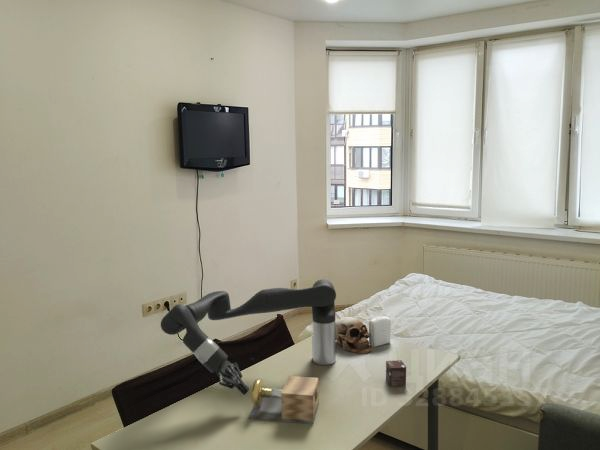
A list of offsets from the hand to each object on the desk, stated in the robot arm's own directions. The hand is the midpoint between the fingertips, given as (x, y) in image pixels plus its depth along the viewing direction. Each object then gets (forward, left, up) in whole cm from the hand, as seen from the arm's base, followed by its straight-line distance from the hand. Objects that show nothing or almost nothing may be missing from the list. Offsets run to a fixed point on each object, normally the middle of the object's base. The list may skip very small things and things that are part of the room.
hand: (246, 392), depth 159 cm
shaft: (+7, +9, -4) cm, 12 cm away
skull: (-25, +61, -6) cm, 66 cm away
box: (+11, +54, -6) cm, 55 cm away
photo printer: (-20, +72, -6) cm, 75 cm away
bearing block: (+8, +10, -6) cm, 14 cm away
